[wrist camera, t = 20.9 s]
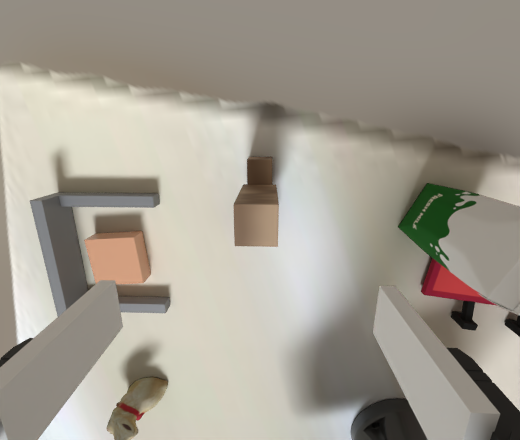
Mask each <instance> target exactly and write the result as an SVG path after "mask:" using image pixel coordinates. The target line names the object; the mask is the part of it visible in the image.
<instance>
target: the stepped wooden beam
mask: <svg viewBox="0 0 520 440" xmlns="http://www.w3.org/2000/svg"><path fill="white" fill-rule="evenodd" d="M247 182H248V185H243V186H242V188H241V191H240V193H239V195H238V197H237V199H236V201H235V203H234V235H235V246H269V247H278V211H279V204H278V196H277V188H276V185H272V157H249V158H248V159H247Z"/></svg>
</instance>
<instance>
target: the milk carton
mask: <svg viewBox="0 0 520 440" xmlns="http://www.w3.org/2000/svg"><path fill="white" fill-rule="evenodd" d="M398 228H400V229H401V230H402V231H403V232H404V233H405V234H406V235H407V236H408V237H409V238H410V239H412V240H413V241H414V242H415V243H416V244H417V245H418V246H419V247H420V248H421V249H422V250H424V251H425V252H426V253H427V254H428V255H429V256H431V257H432V258H433V259H434V260H436V261H437V262H438V263H440V264H441V265H442V266H443V267H445V268H446V269H447V270H449V271H450V272H451V273H452V274H454V275H455V276H456V277H458V278H459V279H460V280H461V281H463V282H464V283H465V284H467V285H468V286H470V287H471V288H472V289H474V290H476V291H477V292H479V293H480V294H479V293H478V294H479V295H481V294H482V295H481V296H482V297H484V298H485V299H487V300H489V301H490V302H492V303H494V304H496V305H498V306H500V307H501V308H504V309H506V310H508V311H510V312H512V313H514V314H517V315H519V316H520V207H519V206H516V205H513V204H509V203H506V202H503V201H499V200H496V199H492V198H489V197H486V196H482V195H479V194H476V193H472V192H468V191H463V190H458V189H453V188H448V187H444V186H439V185H434V184H429V183H427V184H426V186H425V187H424V189H423V190H422V192H421V193H420V195H419V196H418V198H417V199H416V201H415V202H414V204H413V205H412V207H411V208H410V210H409V211H408V213H407V214H406V216H405V217H404V219H403V220H402V222H401V223H400V225H399V226H398Z"/></svg>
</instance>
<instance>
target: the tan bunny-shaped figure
mask: <svg viewBox="0 0 520 440" xmlns="http://www.w3.org/2000/svg"><path fill="white" fill-rule="evenodd" d="M167 385H168V381H166V380H161V379H158V378H155V377H150V378H142V379H139V380H137V381H135V382H134V383H133V384H132V385H131V386H130V388H129V389H128V391H127V394H125V395H124V396H123V397H122V399H121V401H120V402H118V403H117V405H116V406H117V407H116V408H115V409H114V410H113V412H112V415H111V418H110V420H109V422H108V425H107V431H108V432H110V433H111V434H113V435H114V439H115V440H130V439H132V438H133V437H135V436H136V435H137V433H138V428H137V427H136V423H135V421H136V420H140V418H141V417H142V415H144V413H145V412H147V411H149V410H150V409H152V408H153V407H154V406H155V405H156V404H157V403H158V402H159V401H160V400H161V398H162V397H163V395H164V393H165V391H166V389H167Z"/></svg>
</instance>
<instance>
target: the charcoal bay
mask: <svg viewBox="0 0 520 440" xmlns="http://www.w3.org/2000/svg"><path fill="white" fill-rule="evenodd" d="M30 204H31V208H32V212H33V216H34V220H35V224H36V229H37V233H38V237H39V241H40V245H41V249H42V253H43V258H44V262H45V266H46V270H47V274H48V278H49V282H50V287H51V291H52V295H53V299H54V303H55V307H56V311H57V316H58V317H59V316H60V315H61V314H62V313H63V312H64V311H66V310H67V309H68V308H69V307H70V306H71V305H73V304H74V303H75V302H76V301H77V300H78V299H79V298H81V297H82V296H83V295H84V294H85V293H86V292H87V291H88V287H87V282H86V277H85V272H84V267H83V262H82V257H81V252H80V247H79V242H78V237H77V232H76V227H75V222H74V217H73V212H72V207H150V208H154V207H156V206H157V205H159V194H158V193H55V194H51V195H48V196H44V197H41V198H37V199H34V200H30ZM118 300H119V306H120V312H134V313H166V312H167V310H168V308H169V307H170V300H169V297H136V296H118Z"/></svg>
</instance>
